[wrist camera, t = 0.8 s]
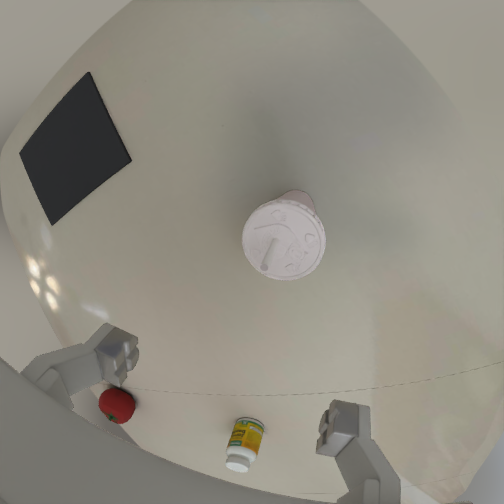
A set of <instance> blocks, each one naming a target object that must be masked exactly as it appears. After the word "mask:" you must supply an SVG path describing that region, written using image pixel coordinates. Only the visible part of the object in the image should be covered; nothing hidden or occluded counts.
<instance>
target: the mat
mask: <svg viewBox="0 0 504 504" xmlns="http://www.w3.org/2000/svg"><path fill="white" fill-rule="evenodd" d="M19 154H20V157H21V159H22V162H23V164H24V167H25V169H26V172H27V174H28V176H29V179H30V181H31V183H32V186H33V188H34V190H35V192H36V195H37V197H38V199H39V201H40V203H41V205H42V207H43V209H44V211H45V213H46V216H47V218H48V220H49V221H50V223H51V225H54V224H55V223H56V222H57V221H58V220H59V219H60V218H61V217H63V216H64V215H65V214H66V213H67V212H68V211H69V210H71V209H72V208H73V207H74V206H75V205H76V204H78V203H79V202H80V201H81V200H82V199H83V198H85V197H86V196H87V195H88V194H90V193H91V192H92V191H93V190H94V189H96V188H97V187H98V186H99V185H101V184H102V183H103V182H105V181H106V180H107V179H108V178H110V177H111V176H112V175H114V174H115V173H116V172H118V171H119V170H120V169H122V168H123V167H124V166H126V165H127V164H128V163H130V162H131V161H132V160H131V158H130V156H129V154H128V152H127V150H126V148H125V146H124V144H123V142H122V140H121V138H120V136H119V134H118V132H117V130H116V128H115V126H114V124H113V122H112V120H111V118H110V115H109V113H108V111H107V109H106V107H105V105H104V103H103V101H102V98H101V96H100V94H99V92H98V90H97V87H96V85H95V83H94V81H93V78H92V76H91V74H90V72H87V73H86V74H85V75H84V76H83V77H82V78H81V79H80V80H79V81H78V82H77V83H76V84H75V85H74V86H73V88H72V89H71V90H70V91H69V92H68V93H67V94H66V95H65V96H64V97H63V98H62V100H61V101H60V102H59V103H58V104H57V105H56V106H55V108H54V109H53V110H52V111H51V112H50V114H49V115H48V116H47V117H46V118H45V120H44V121H43V122H42V123H41V125H40V126H39V127H38V128H37V130H36V131H35V132H34V134H33V135H32V136H31V138H30V139H29V140H28V142H27V143H26V144H25V146H24V147H23V149H22V150H21V151H20V153H19Z"/></svg>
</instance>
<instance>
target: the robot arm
mask: <svg viewBox="0 0 504 504" xmlns="http://www.w3.org/2000/svg"><path fill="white" fill-rule="evenodd" d="M137 344H138V337H136V336H134V335H132V334H130V333H128V332H126V331H124V330H121V329H119V328H117V327H115V326H113V325H111V324H109V323H105V324H103V325H102V326H101V327H100V328H99V329H98V330H97V331H96V332H95V333H94V334H93V335H92V337H91V338H90V339H89V340H88V341H87V342H86V343H85V344H84V345H83V344H77V345H74V346H71V347H67V348H64V349H60V350H57V351H53V352H50V353H47V354H43V355H40V356H37V357H36V358H35V359H34V360H33V361H32V362H31V363H30V364H29V365H28V366H27V367H26V368H25V369H24V370H23V371H22V372H21V373H19V372H18V371H16V370H15V369H14V368H13V367H11V366H10V365H9V364H8V363H7V362H6V361H4V360H3V359H2V358H1V357H0V504H400V495H401V486H400V479H399V477H398V476H397V474H396V472H395V471H394V469H393V468H392V466H391V465H390V463H389V462H388V460H387V459H386V457H385V456H384V454H383V453H382V451H381V450H380V448H379V447H378V445H377V444H376V442H375V441H374V440H372V439H371V425H370V407H369V406H365V405H360V404H356V403H350V402H345V401H340V400H335V399H334V400H333V401H332V402H331V403H330V407H329V409H328V410H326V411H325V412H324V414H323V416H322V418H321V421H320V425H319V433H320V434H321V436H320V437H319V439H318V440H317V446H316V454H321V455H325V456H331V457H335V460H336V462H337V465H338V467H339V469H340V471H341V474H342V476H343V478H344V480H345V483H346V485H347V487H348V489H349V492H348V493H346V494H345V495H343V496H342V497H340V498H339V499H337V503H329V502H321V501H314V500H307V499H301V498H295V497H290V496H285V495H280V494H275V493H270V492H266V491H261V490H257V489H253V488H249V487H246V486H242V485H238V484H235V483H231V482H228V481H225V480H221V479H218V478H215V477H212V476H209V475H206V474H203V473H200V472H197V471H194V470H192V469H189V468H186V467H184V466H181V465H178V464H176V463H173V462H171V461H169V460H166V459H164V458H161V457H159V456H157V455H154V454H152V453H150V452H148V451H146V450H143V449H141V448H139V447H137V446H135V445H133V444H131V443H129V442H127V441H125V440H123V439H121V438H119V437H117V436H115V435H113V434H111V433H109V432H107V431H106V430H104V429H102V428H100V427H99V426H97V425H95V424H93V423H92V422H90V421H88V420H87V419H85V418H83V417H82V416H80V415H78V414H77V413H75V412H73V411H72V409H73V408H74V406H73V403H72V401H71V399H70V396H71V395H73V394H75V393H77V392H79V391H82V390H84V389H86V388H88V387H90V386H92V385H94V384H97V383H99V382H101V381H103V380H105V381H107V382H109V383H111V384H113V385H116V386H118V387H120V386H121V385H122V384H123V382H124V381H125V379H126V378H127V372H128V371H131V370H133V368H134V367H135V366H136V364H137V361H138V358H139V350H138V348H137V347H136V345H137ZM446 504H473V503H472V502H469V501H463V502H455V503H446Z"/></svg>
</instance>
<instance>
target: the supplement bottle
mask: <svg viewBox="0 0 504 504" xmlns="http://www.w3.org/2000/svg"><path fill="white" fill-rule="evenodd" d="M263 432H264V426H263V425H262V424H261V423H260V422H259V421H257V420H254V419H251V418H242V419H239V420H238V421H237V422H236V424H235V427H234V430H233V432H232V435H231V438H230V440H229V443H228V446H227V449H226V454H227V456H228V458H227V460H226V463H225V465H226V467H227V468H229V469H231V470H233V471H237V472H247V471H248V470H249V467H250V463H251V462H253V461H255V459H256V457H257V454H258V450H259V447H260V443H261V439H262V436H263Z"/></svg>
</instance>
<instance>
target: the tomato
mask: <svg viewBox="0 0 504 504" xmlns="http://www.w3.org/2000/svg"><path fill="white" fill-rule="evenodd" d="M99 408H100V410H101V411H102V412H103V413H104V414H105V415H106V417H107V418H108V419H109V420H110V421H113V422H115V423H117V424H123V423H125V422H127V421H128V420H129V419H130V418H131V417H132V415H133V413H134V411H135V402H134V400H133V398H132V397H131V396H130V395H128V394H126V393H125V392H123V391H121V390H118V389H116V388H110V389H107V390H105V391H104V392H103V393H102V394H101V396H100V398H99Z"/></svg>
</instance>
